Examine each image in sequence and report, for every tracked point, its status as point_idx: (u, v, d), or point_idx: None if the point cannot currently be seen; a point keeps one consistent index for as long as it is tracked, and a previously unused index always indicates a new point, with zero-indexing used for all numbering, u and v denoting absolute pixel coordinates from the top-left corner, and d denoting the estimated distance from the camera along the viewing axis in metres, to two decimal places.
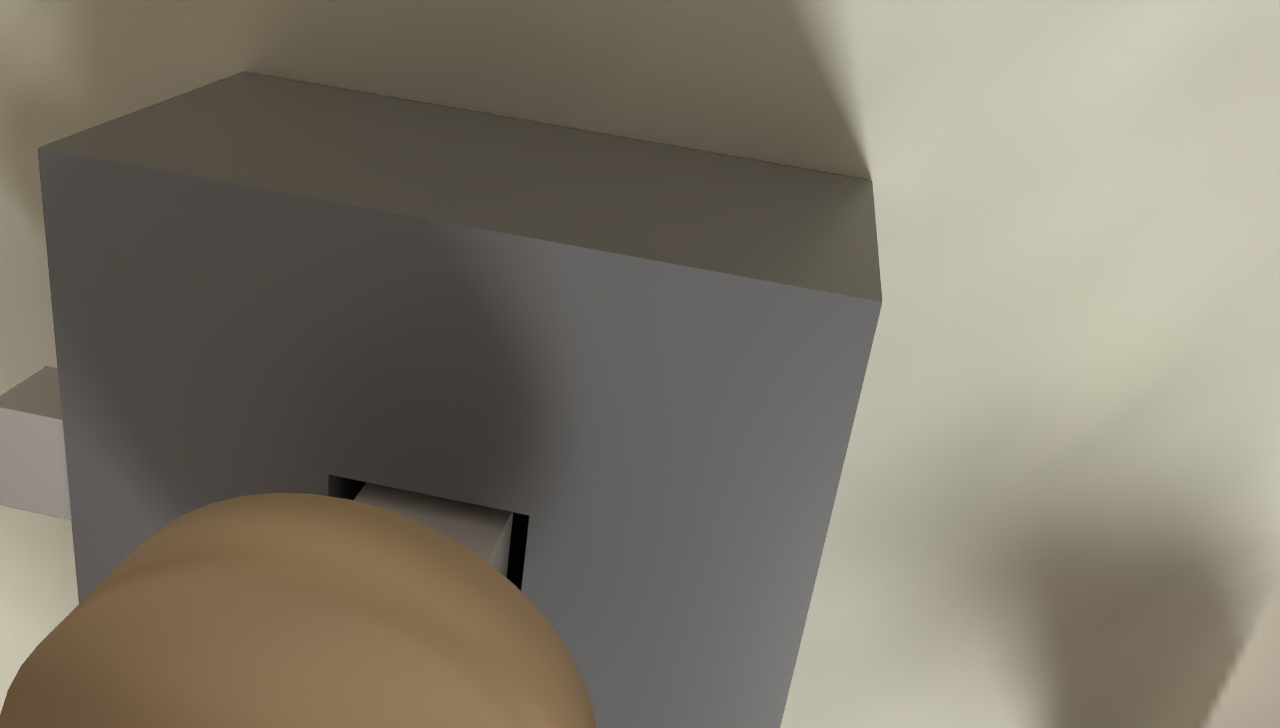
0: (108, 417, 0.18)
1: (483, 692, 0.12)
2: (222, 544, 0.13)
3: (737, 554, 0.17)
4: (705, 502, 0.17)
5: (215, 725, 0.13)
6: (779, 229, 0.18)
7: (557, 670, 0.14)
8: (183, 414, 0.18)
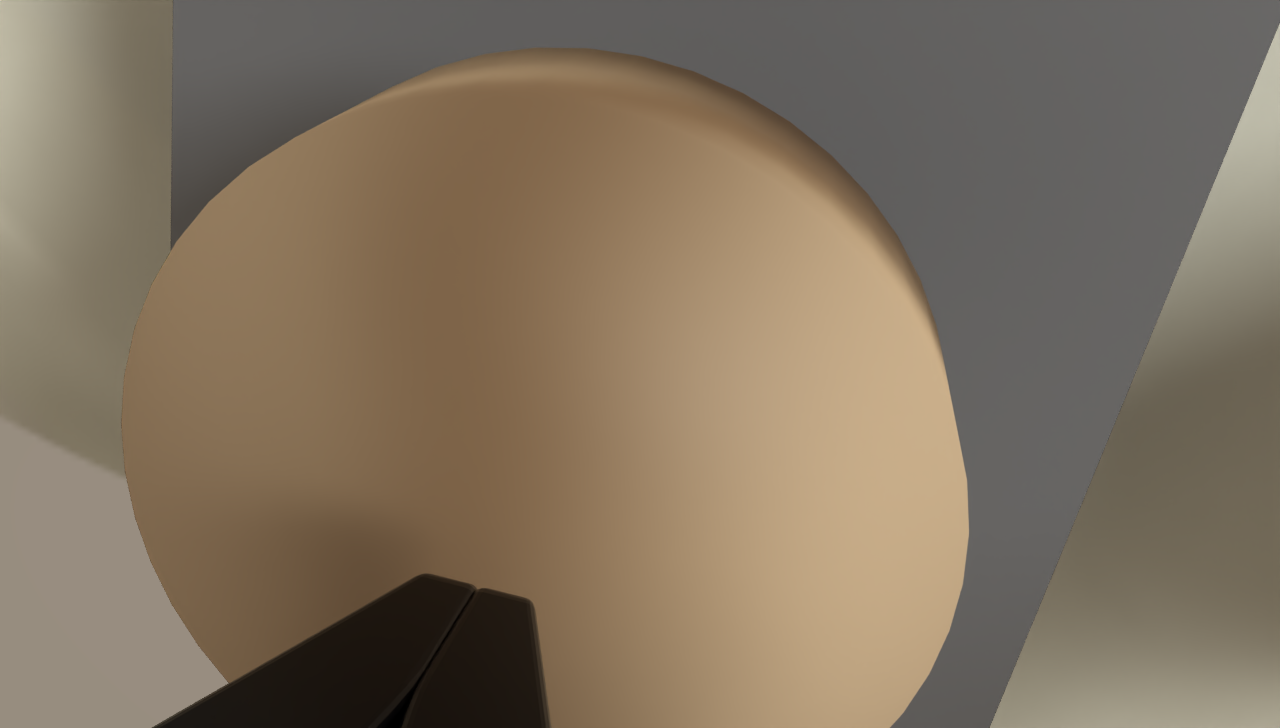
0: None
1: (238, 180, 0.09)
2: None
3: None
4: None
5: (339, 548, 0.10)
6: None
7: (388, 89, 0.10)
8: None
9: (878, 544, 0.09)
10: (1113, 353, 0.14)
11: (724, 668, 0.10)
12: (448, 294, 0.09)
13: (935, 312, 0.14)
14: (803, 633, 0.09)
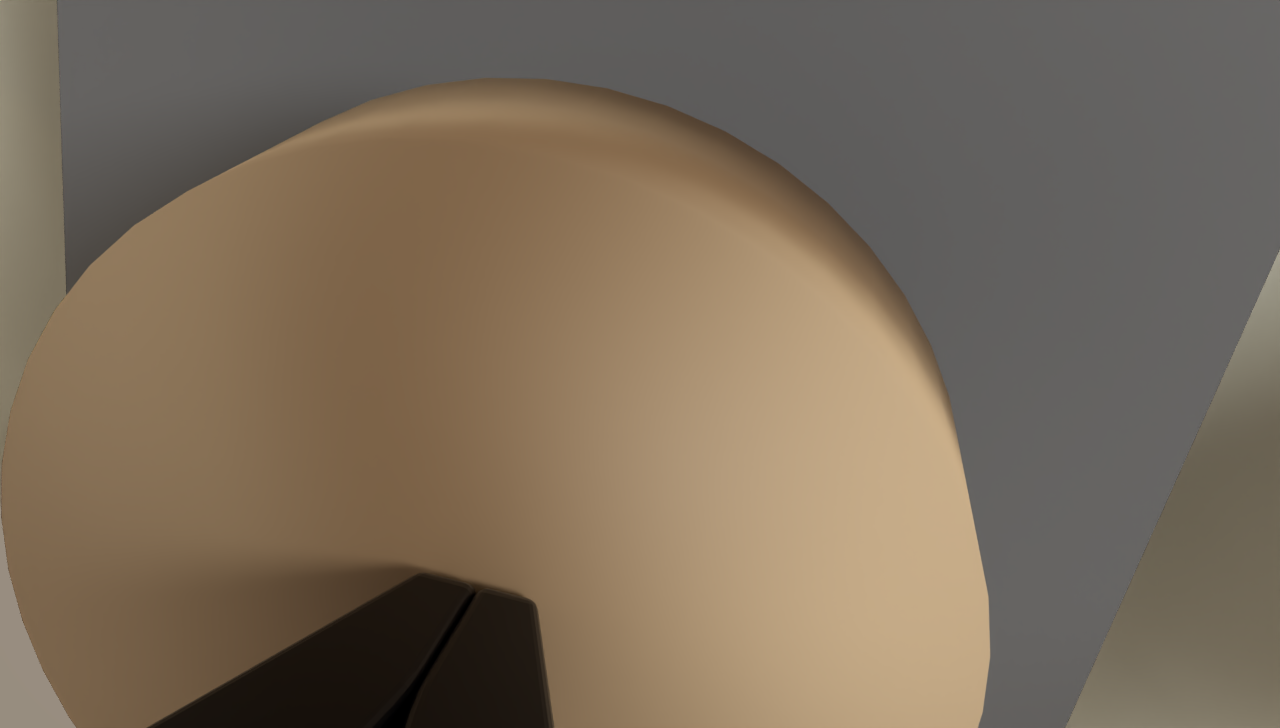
0: None
1: (127, 238, 0.07)
2: None
3: None
4: None
5: (257, 659, 0.08)
6: None
7: (313, 127, 0.08)
8: None
9: (883, 666, 0.08)
10: (1158, 439, 0.12)
11: None
12: (373, 375, 0.07)
13: (949, 389, 0.12)
14: None
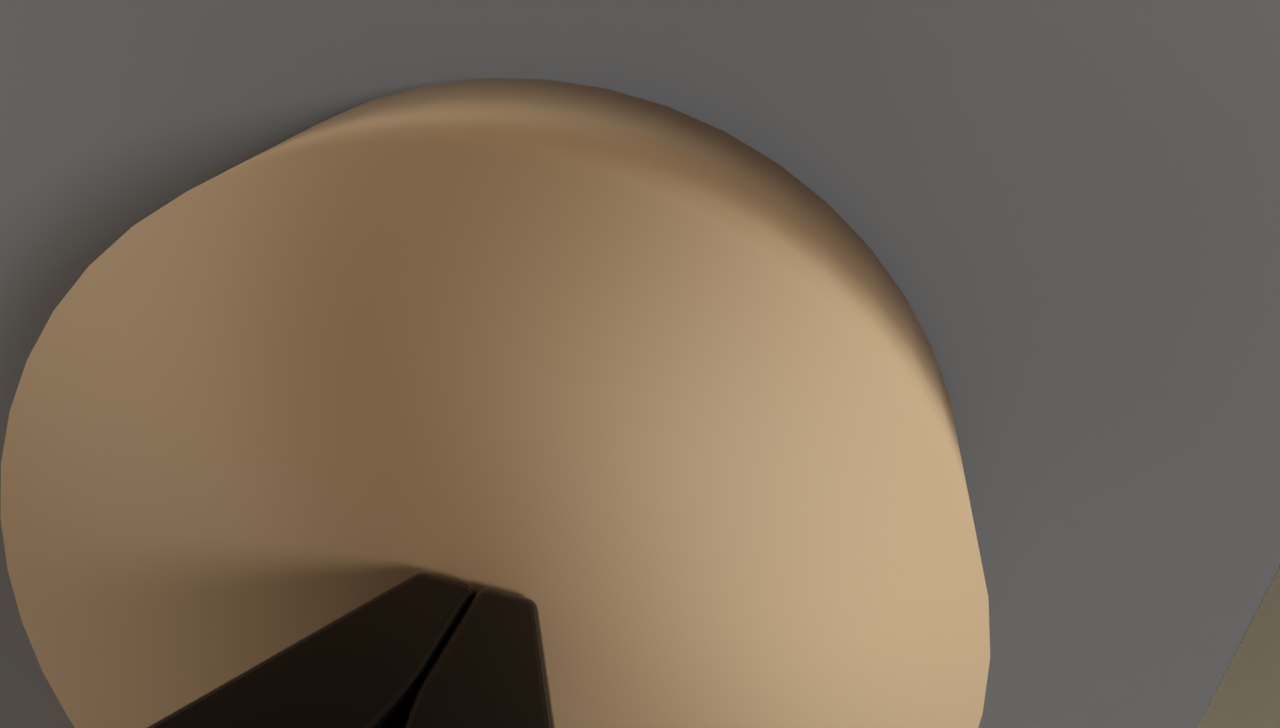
0: None
1: (126, 239, 0.07)
2: None
3: None
4: None
5: (256, 660, 0.08)
6: None
7: (313, 126, 0.08)
8: None
9: (881, 668, 0.08)
10: (1230, 573, 0.09)
11: None
12: (373, 376, 0.07)
13: (973, 510, 0.10)
14: None
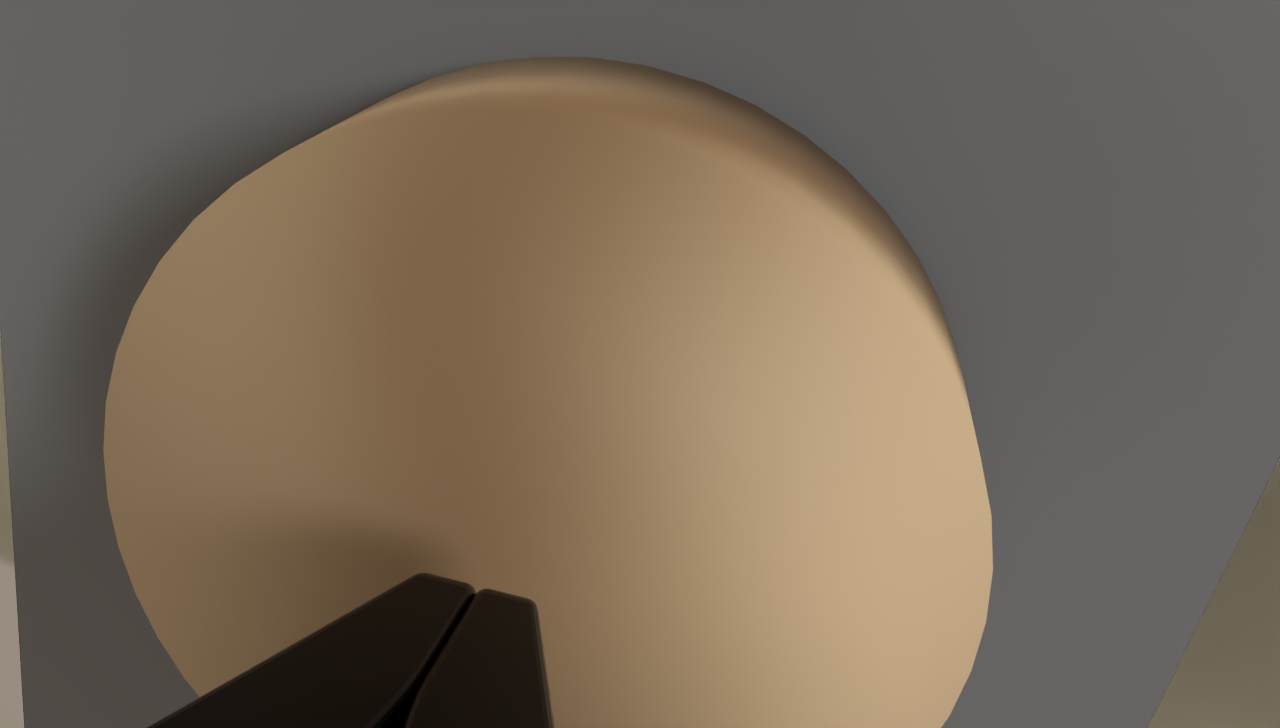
0: None
1: (225, 197, 0.08)
2: None
3: None
4: None
5: (330, 580, 0.09)
6: None
7: (382, 100, 0.09)
8: None
9: (896, 580, 0.09)
10: (1211, 510, 0.10)
11: (733, 708, 0.09)
12: (445, 317, 0.08)
13: None
14: (816, 671, 0.09)
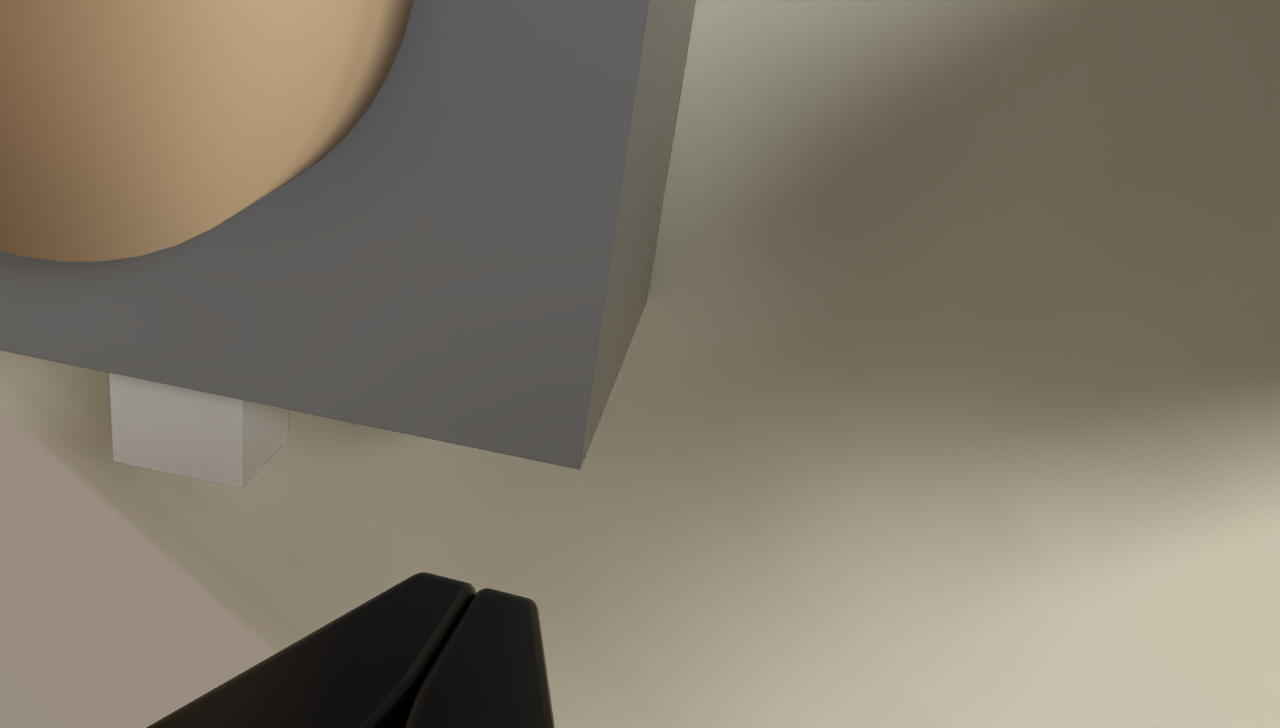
0: (7, 298, 0.15)
1: None
2: None
3: None
4: None
5: None
6: None
7: None
8: None
9: None
10: None
11: (183, 41, 0.11)
12: None
13: None
14: None
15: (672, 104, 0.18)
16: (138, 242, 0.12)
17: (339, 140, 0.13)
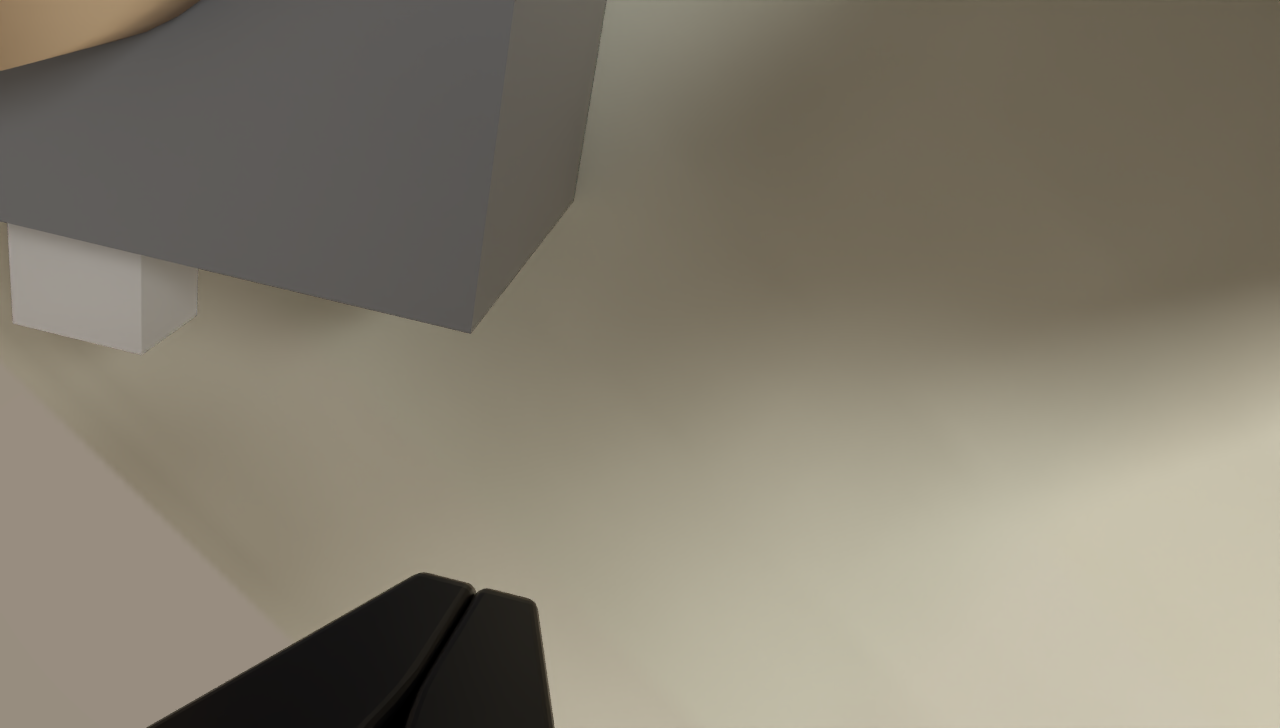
0: None
1: None
2: None
3: None
4: None
5: None
6: None
7: None
8: None
9: None
10: None
11: None
12: None
13: None
14: None
15: None
16: (2, 55, 0.12)
17: None
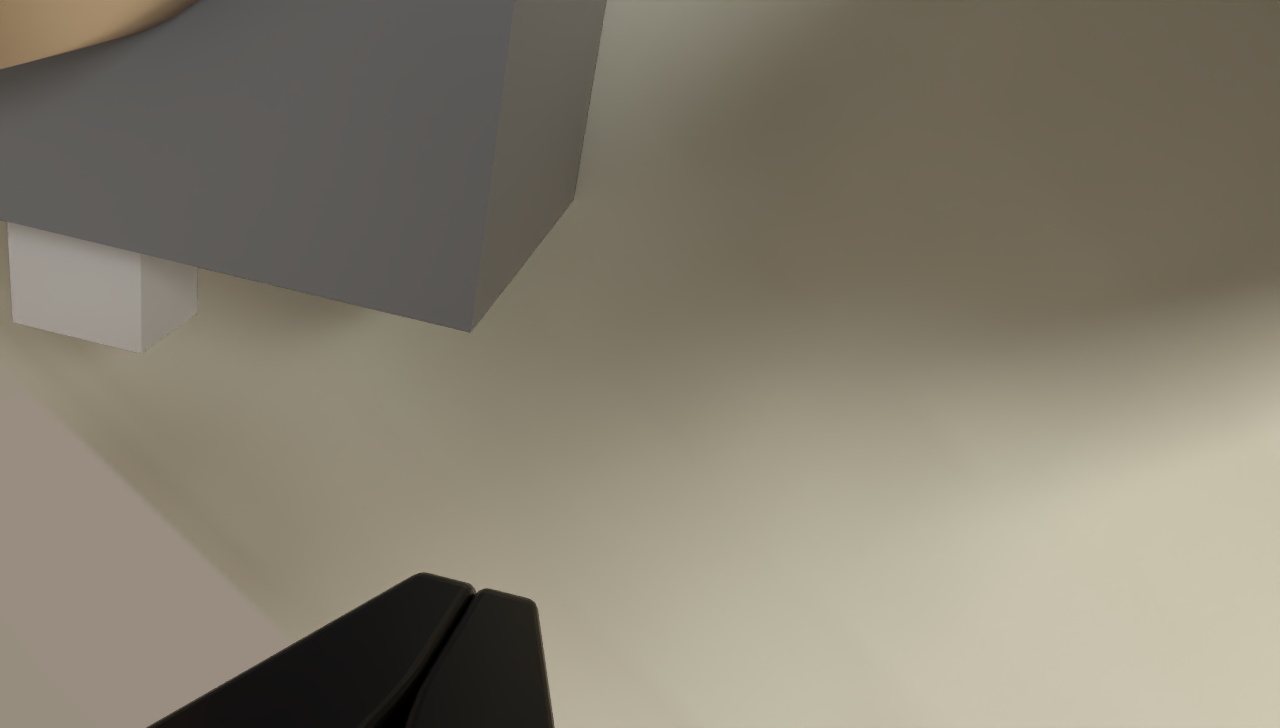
0: None
1: None
2: None
3: None
4: None
5: None
6: None
7: None
8: None
9: None
10: None
11: None
12: None
13: None
14: None
15: None
16: (2, 53, 0.12)
17: None
